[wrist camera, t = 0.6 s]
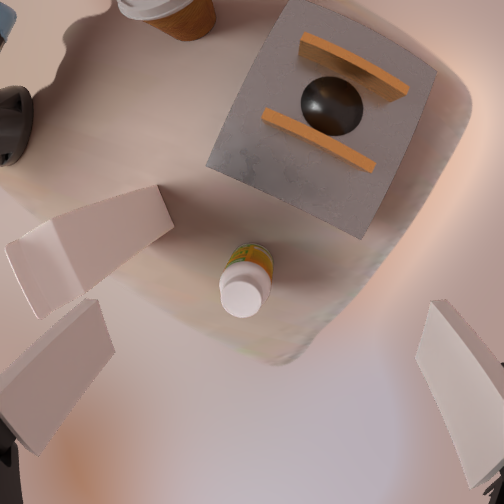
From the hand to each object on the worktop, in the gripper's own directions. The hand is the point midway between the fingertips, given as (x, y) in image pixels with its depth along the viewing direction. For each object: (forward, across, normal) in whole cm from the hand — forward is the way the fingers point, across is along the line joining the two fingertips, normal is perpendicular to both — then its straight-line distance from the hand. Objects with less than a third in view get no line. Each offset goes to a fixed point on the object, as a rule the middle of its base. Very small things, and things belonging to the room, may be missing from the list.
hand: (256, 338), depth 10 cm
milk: (+25, -17, 0) cm, 30 cm away
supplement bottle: (+25, -3, -6) cm, 26 cm away
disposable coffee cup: (+25, -9, +26) cm, 37 cm away
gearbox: (+25, +6, +11) cm, 28 cm away
